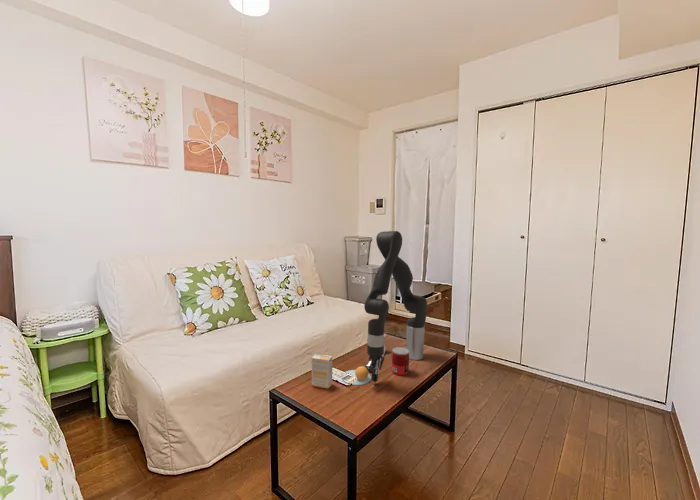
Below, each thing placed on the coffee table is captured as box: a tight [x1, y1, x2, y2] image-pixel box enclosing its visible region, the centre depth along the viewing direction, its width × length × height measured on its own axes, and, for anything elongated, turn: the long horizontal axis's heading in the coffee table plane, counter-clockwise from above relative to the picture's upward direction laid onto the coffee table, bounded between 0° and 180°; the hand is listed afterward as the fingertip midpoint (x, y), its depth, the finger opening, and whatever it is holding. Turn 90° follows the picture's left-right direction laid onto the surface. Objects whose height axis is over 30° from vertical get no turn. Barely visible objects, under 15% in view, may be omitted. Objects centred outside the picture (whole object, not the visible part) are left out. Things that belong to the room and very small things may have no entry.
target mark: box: [345, 369, 372, 386], centre depth 151 cm, size 14×14×1 cm
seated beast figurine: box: [382, 333, 387, 357], centre depth 179 cm, size 10×9×12 cm
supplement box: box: [311, 353, 333, 390], centre depth 143 cm, size 8×5×13 cm, turn 71°
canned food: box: [391, 346, 410, 377], centre depth 156 cm, size 8×8×11 cm
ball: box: [355, 365, 369, 380], centre depth 149 cm, size 6×6×6 cm
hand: (374, 380), depth 145 cm, fingers closed
